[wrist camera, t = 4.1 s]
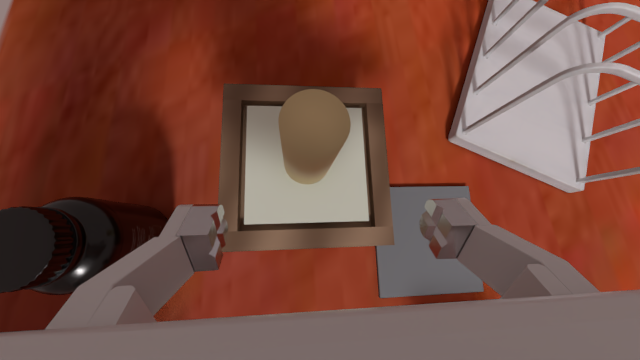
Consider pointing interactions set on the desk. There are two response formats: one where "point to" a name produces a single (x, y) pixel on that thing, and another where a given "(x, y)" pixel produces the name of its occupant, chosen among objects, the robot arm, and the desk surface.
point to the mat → (419, 250)
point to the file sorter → (540, 90)
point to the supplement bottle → (69, 241)
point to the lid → (305, 162)
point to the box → (302, 234)
